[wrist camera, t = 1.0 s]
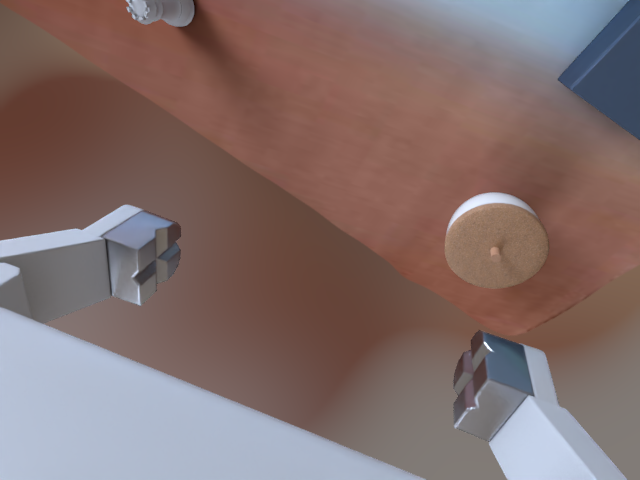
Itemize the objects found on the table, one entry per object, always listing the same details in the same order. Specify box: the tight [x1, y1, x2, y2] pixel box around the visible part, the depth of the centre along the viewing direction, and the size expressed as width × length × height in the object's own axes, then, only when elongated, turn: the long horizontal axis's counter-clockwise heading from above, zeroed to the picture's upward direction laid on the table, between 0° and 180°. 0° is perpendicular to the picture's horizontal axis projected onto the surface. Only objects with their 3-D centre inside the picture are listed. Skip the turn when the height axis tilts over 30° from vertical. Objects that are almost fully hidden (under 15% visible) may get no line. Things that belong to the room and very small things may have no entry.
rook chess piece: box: [126, 0, 194, 27], centre depth 45 cm, size 4×4×8 cm
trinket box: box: [445, 192, 549, 288], centre depth 47 cm, size 11×11×9 cm
